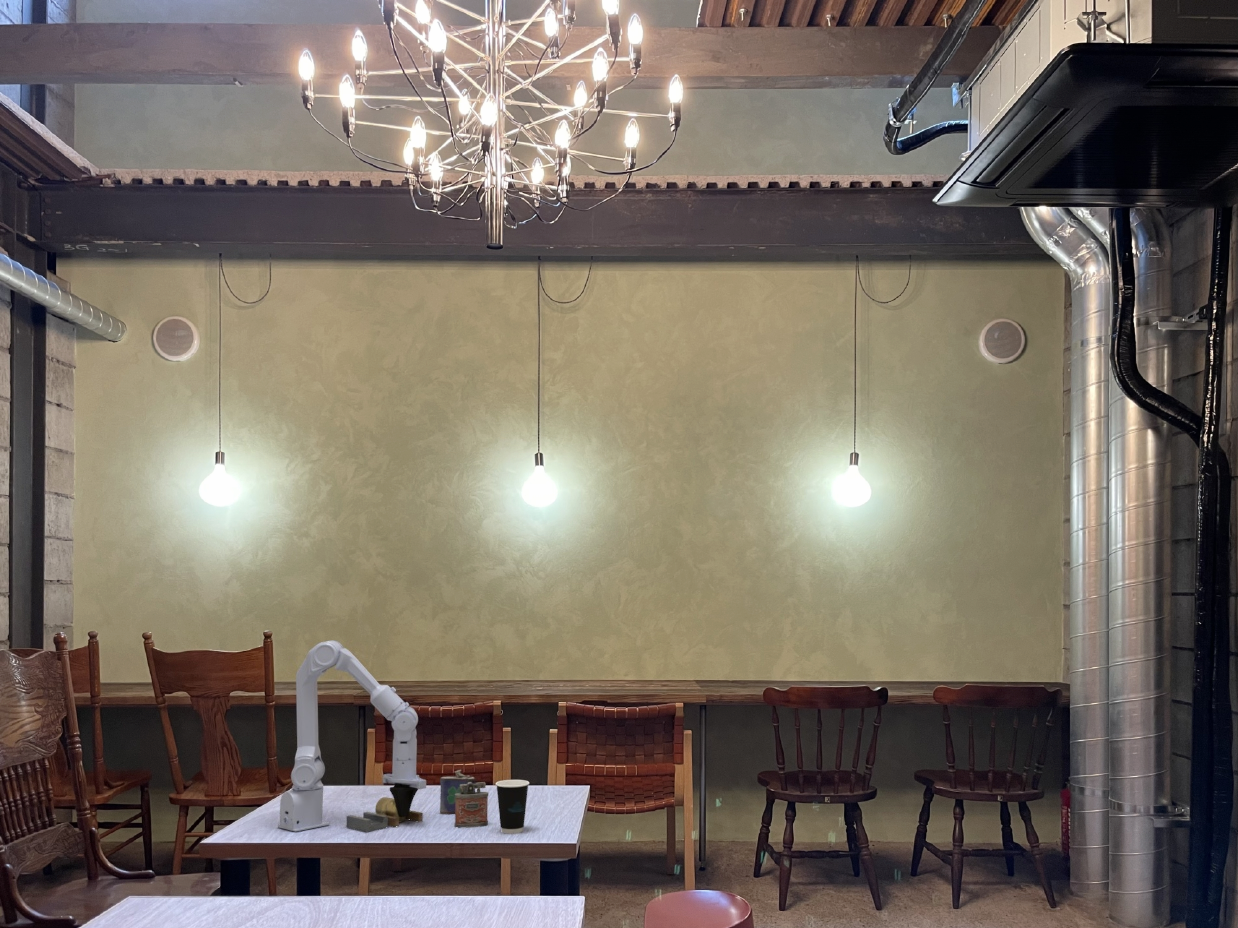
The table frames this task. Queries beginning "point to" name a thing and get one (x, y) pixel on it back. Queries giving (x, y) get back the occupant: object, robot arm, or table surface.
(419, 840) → the table surface
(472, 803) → the lighter
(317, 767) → the robot arm
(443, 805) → the flask
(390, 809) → the gold capsule
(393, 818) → the brown u-shaped block
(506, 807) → the dixie cup
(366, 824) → the v block
